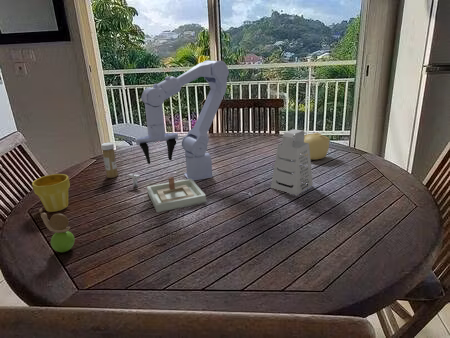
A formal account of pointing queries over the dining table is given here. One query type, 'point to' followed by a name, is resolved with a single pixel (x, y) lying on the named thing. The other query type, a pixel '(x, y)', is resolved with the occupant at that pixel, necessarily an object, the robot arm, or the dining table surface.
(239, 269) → the dining table surface
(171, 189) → the birch frame
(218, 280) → the dining table surface
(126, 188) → the dining table surface
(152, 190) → the sage tray
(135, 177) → the T-head stake
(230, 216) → the dining table surface
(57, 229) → the snail figurine
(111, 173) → the sprinkles bottle
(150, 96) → the robot arm
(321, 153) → the yellow round pot
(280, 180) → the grater
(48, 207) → the plant pot
